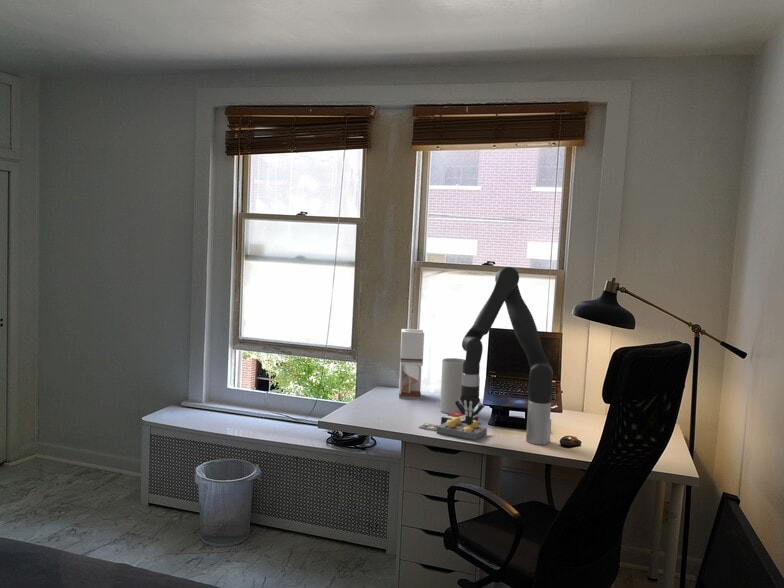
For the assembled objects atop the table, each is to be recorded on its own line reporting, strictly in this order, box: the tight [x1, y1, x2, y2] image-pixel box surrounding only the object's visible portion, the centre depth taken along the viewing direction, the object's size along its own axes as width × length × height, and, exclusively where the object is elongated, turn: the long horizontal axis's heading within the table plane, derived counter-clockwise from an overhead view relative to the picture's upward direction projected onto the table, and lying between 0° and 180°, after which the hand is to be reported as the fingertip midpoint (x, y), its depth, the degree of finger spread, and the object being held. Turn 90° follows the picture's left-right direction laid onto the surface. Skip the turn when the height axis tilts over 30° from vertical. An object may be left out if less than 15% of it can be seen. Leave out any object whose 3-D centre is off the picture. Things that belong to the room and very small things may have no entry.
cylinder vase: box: [439, 357, 465, 415], centre depth 314 cm, size 12×12×25 cm
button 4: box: [469, 420, 479, 429], centre depth 278 cm, size 4×4×3 cm
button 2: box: [452, 417, 461, 426], centre depth 282 cm, size 4×4×3 cm
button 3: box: [464, 427, 473, 432], centre depth 274 cm, size 4×4×3 cm
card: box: [418, 422, 439, 432], centre depth 286 cm, size 8×7×1 cm
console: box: [436, 422, 488, 442], centre depth 278 cm, size 18×12×3 cm, turn 60°
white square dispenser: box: [398, 328, 425, 401], centre depth 341 cm, size 11×11×35 cm
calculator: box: [440, 412, 479, 425], centre depth 295 cm, size 11×4×15 cm
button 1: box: [447, 420, 455, 429], centre depth 278 cm, size 4×4×3 cm
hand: (468, 424), depth 273 cm, fingers closed
